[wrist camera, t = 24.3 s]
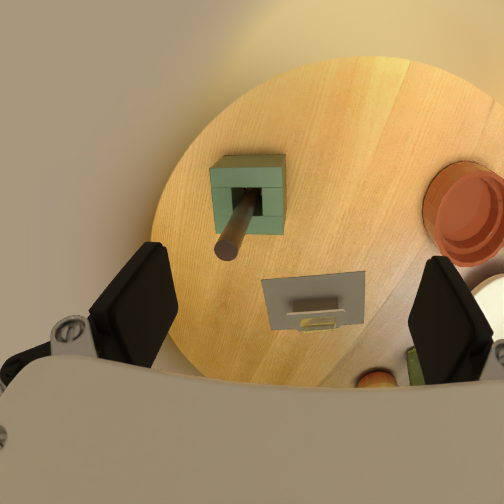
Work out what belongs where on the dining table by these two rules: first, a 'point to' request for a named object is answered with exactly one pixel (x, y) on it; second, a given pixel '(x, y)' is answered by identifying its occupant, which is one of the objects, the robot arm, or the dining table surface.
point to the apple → (377, 380)
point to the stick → (237, 225)
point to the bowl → (492, 303)
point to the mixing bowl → (466, 213)
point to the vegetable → (414, 369)
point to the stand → (250, 175)
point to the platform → (315, 301)
